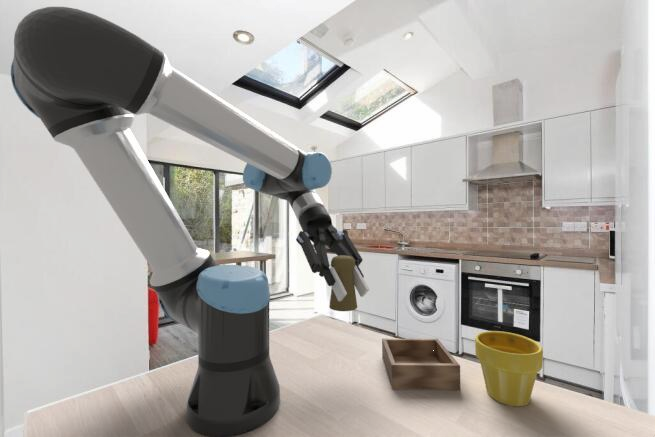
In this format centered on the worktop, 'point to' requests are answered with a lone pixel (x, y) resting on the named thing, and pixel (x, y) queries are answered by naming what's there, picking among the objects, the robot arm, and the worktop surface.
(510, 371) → the plant pot
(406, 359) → the walnut crate
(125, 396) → the worktop surface
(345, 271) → the cork
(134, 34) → the robot arm
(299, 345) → the worktop surface
